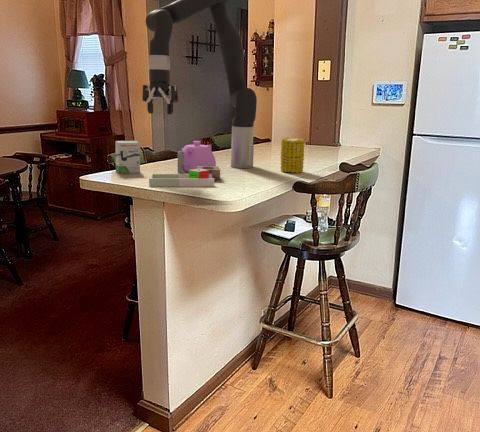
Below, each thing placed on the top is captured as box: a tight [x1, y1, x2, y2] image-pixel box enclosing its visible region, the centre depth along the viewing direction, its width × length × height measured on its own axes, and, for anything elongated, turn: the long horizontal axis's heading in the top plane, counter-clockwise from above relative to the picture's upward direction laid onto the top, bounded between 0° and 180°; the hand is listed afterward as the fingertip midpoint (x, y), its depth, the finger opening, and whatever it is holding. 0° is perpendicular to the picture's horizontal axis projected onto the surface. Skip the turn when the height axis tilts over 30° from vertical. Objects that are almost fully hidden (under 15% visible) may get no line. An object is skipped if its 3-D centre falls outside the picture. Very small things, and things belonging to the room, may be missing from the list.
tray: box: [148, 173, 180, 187], centre depth 164 cm, size 10×10×2 cm
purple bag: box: [177, 140, 217, 173], centre depth 191 cm, size 22×16×12 cm
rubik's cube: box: [188, 169, 209, 178], centre depth 165 cm, size 5×5×5 cm
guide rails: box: [177, 173, 215, 187], centre depth 166 cm, size 12×10×2 cm
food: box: [280, 136, 305, 174], centre depth 194 cm, size 15×12×10 cm
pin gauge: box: [177, 150, 185, 174], centre depth 172 cm, size 2×2×10 cm
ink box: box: [115, 140, 141, 174], centre depth 183 cm, size 9×5×12 cm, turn 118°
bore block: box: [197, 165, 221, 182], centre depth 175 cm, size 8×8×4 cm
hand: (160, 113), depth 178 cm, fingers open, 8 cm apart
